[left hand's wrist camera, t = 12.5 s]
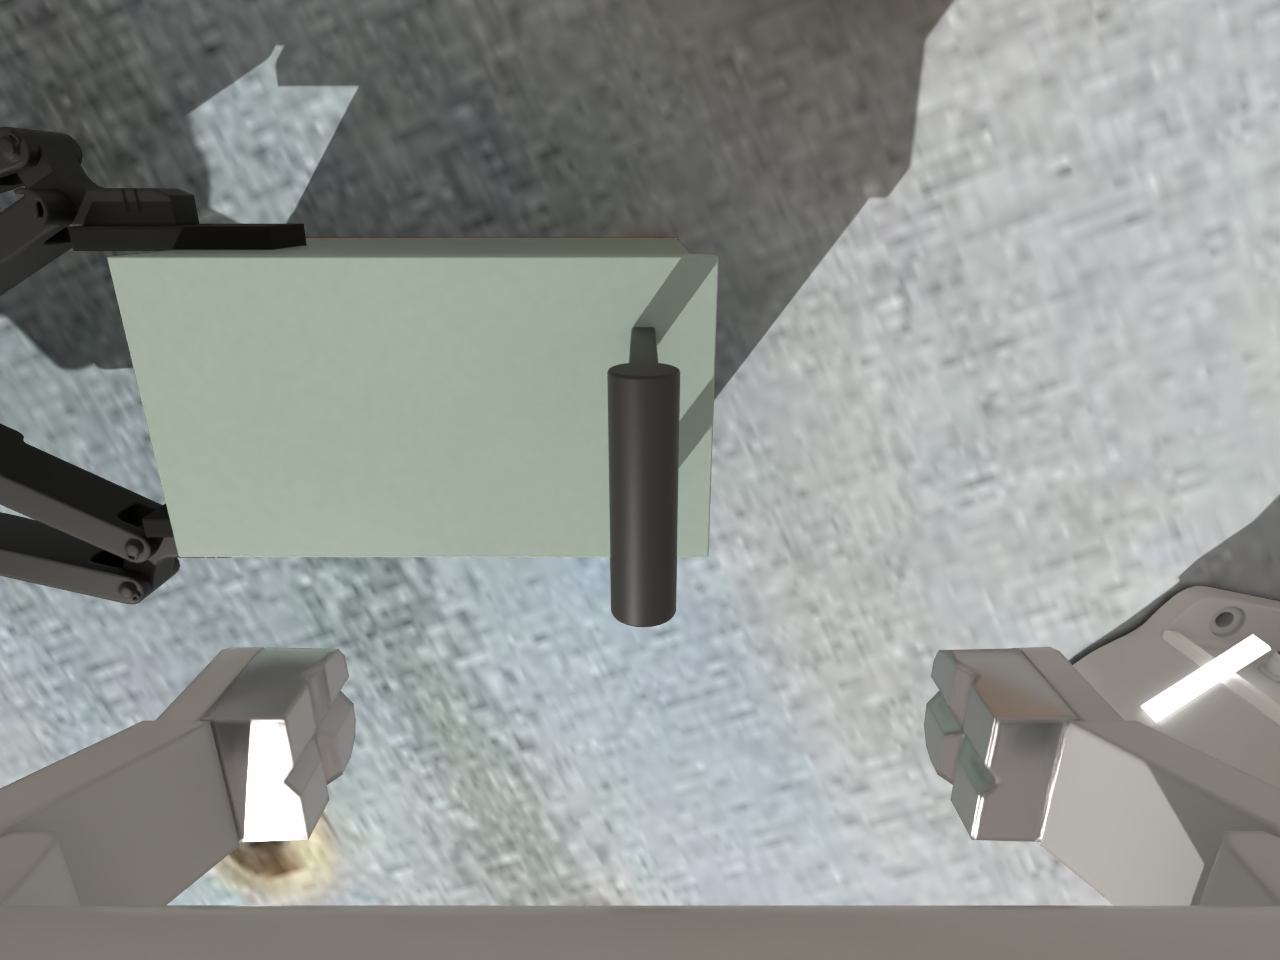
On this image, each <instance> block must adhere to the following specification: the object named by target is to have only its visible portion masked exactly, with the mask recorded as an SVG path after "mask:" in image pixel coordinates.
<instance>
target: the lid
mask: <svg viewBox="0 0 1280 960" xmlns="http://www.w3.org/2000/svg"><path fill="white" fill-rule="evenodd" d="M107 259H108V263H109V267H110V272H111V276H112V280H113V284H114V288H115V293H116V297H117V301H118V305H119V309H120V313H121V318H122V322H123V326H124V330H125V334H126V338H127V343H128V347H129V351H130V355H131V359H132V363H133V368H134V372H135V376H136V380H137V384H138V388H139V393H140V397H141V401H142V405H143V409H144V414H145V418H146V422H147V426H148V430H149V434H150V439H151V443H152V447H153V451H154V455H155V459H156V464H157V468H158V472H159V476H160V480H161V484H162V489H163V493H164V497H165V501H166V505H167V509H168V514H169V518H170V522H171V526H172V530H173V535H174V539H175V543H176V547H177V551H178V555H179V557H610V571H611V611H612V614H613V616H614V617H615V618H616V619H617V620H618V621H620V622H622V623H624V624H627V625H630V626H636V627H652V626H657V625H660V624H663V623H665V622H667V621H669V620H670V619H671V618H672V617H673V616H674V614H675V612H676V581H677V557H708V554H709V525H710V496H711V467H712V438H713V410H714V381H715V352H716V323H717V294H718V266H719V258H718V256H716V255H715V254H129V255H119V256H110V257H108V258H107Z"/></svg>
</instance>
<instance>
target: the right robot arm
mask: <svg viewBox="0 0 1280 960" xmlns="http://www.w3.org/2000/svg"><path fill="white" fill-rule="evenodd" d="M81 162H82V152H81V149H80V146H79V145H78V144H77V142H76V141H75V140H74V139H73V138H71V137H70V136H68V135H66V134H63V133H55V132H46V131H37V130H29V129H20V128H11V127H0V193H3V192H6V191H9V190H13V189H16V188H19V187H22V186H25V188H19V189H16V190H14V192H15V193H16V194H24V197H22V198H21V199H20V200H18V201H17V202H15V203H14V204H12V205H11V206H10V207H8V208H7V209H5V210H4V211H2V212H1V213H0V296H1V295H2V294H4V293H5V292H7V291H8V290H10V289H11V288H13V287H14V286H16V285H17V284H19V283H20V282H22V281H23V280H25V279H26V278H28V277H29V276H31V275H32V274H34V273H35V272H37V271H38V270H39V269H41V268H42V267H44V266H45V265H47V264H48V263H50V262H51V261H53V260H54V259H56V258H57V257H59V256H60V255H62V254H63V253H65V252H66V251H68V250H69V249H71V248H72V247H73V250H74V251H167V250H274V249H281V248H289V247H296V246H303V245H307V244H306V237H305V230H304V224H199V220H198V215H197V210H196V205H195V199H194V195H192V194H190V193H187V192H184V191H182V190H179V189H159V188H103V187H100V186H98V185H97V184H95V183H93V182H92V181H91V180H90V179H89V178H88V176H87V175H86V173H85V172H84V170H83V168H82V167H81V165H80V164H81ZM23 439H24V436H23V435H22V434H21V433H19V432H18V431H16V430H13V429H11V428H9V427H7V426H5V425H2V424H0V505H3V506H5V507H7V508H10V509H12V510H14V511H16V512H19V513H21V514H23V515H26V516H28V517H30V518H33V519H35V520H32V519H28V518H24V517H19V516H15V515H11V514H6V513H1V512H0V576H5V577H9V578H14V579H18V580H23V581H27V582H32V583H36V584H40V585H45V586H49V587H54V588H58V589H63V590H67V591H72V592H76V593H81V594H85V595H90V596H94V597H99V598H103V599H108V600H112V601H117V602H121V603H126V604H137V603H139V602H141V601H142V600H143V599H144V598H146V597H147V596H148V595H150V594H151V593H152V592H153V591H155V590H156V589H157V588H158V587H160V586H161V585H162V584H163V583H165V582H166V581H167V580H168V579H169V578H171V577H172V576H173V575H174V574H176V573H177V572H178V571H179V567H180V564H179V560H178V559H177V558H204V557H179V555H178V551H177V547H176V543H175V539H174V535H173V530H172V526H171V522H170V518H169V514H168V509H167V505H166V504H164V505H161V504H159V503H156V502H154V501H152V500H150V499H148V498H145V497H143V496H141V495H139V494H137V493H134V492H132V491H130V490H128V489H125V488H123V487H121V486H119V485H117V484H114V483H112V482H110V481H108V480H106V479H103V478H101V477H99V476H97V475H95V474H92V473H90V472H88V471H86V470H84V469H81V468H79V467H77V466H75V465H72V464H70V463H68V462H66V461H64V460H61V459H59V458H57V457H55V456H53V455H50V454H48V453H46V452H44V451H42V450H39V449H37V448H35V447H33V446H31V445H28V444H26V443H25V442H24V441H23ZM207 558H215V557H207ZM217 558H231V557H217Z"/></svg>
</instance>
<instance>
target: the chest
mask: <svg viewBox="0 0 1280 960" xmlns="http://www.w3.org/2000/svg"><path fill="white" fill-rule="evenodd" d="M306 244H307V245H303V246H296V247H289V248H281V249H274V250H167V251H158V252H149V253H139V254H690V253H689V252H688V251H687V250H686V249H685V248H684V246H683V245H682V244H681V243H680V242H679V239H678V238H306Z"/></svg>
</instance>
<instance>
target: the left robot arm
mask: <svg viewBox="0 0 1280 960" xmlns="http://www.w3.org/2000/svg"><path fill="white" fill-rule="evenodd" d="M1221 613H1222V614H1221ZM1220 614H1221V616H1219V617H1218V615H1220ZM1217 617H1218V618H1217ZM348 677H349V674H348V669H347V664H346V659H345V655H344V654H343V653H342V652H341V651H340V650H339V649H312V648H263V647H237V648H228V649H224V650H222V651H221V652H220V653H219V654H218V655H217V656H216V657H215V658H214V659H213V660H212V661H211V662H210V663H209V664H208V665H207V666H206V667H205V669H204V670H203V671H202V672H201V673H200V674H199V675H198V676H197V677H196V678H195V679H194V680H193V681H192V682H191V683H190V684H189V686H188V687H187V688H186V689H185V690H184V691H183V692H182V693H181V694H180V695H179V696H178V697H177V698H176V699H175V700H174V701H173V703H172V704H171V705H170V706H169V707H168V708H167V709H166V710H165V711H164V712H163V713H162V714H161V715H160V716H159V717H158V718H157V720H156V721H142V722H140V723H138V724H135V725H133V726H131V727H129V728H127V729H125V730H123V731H121V732H119V733H116V734H114V735H112V736H110V737H108V738H106V739H104V740H102V741H100V742H97V743H95V744H93V745H91V746H89V747H87V748H85V749H83V750H81V751H78V752H76V753H74V754H72V755H70V756H68V757H66V758H64V759H62V760H60V761H57V762H55V763H53V764H51V765H49V766H47V767H45V768H43V769H41V770H38V771H36V772H34V773H32V774H30V775H28V776H26V777H24V778H22V779H19V780H17V781H15V782H13V783H11V784H9V785H7V786H5V787H3V788H1V789H0V960H1280V601H1276V600H1271V599H1266V598H1261V597H1257V596H1252V595H1247V594H1242V593H1237V592H1232V591H1227V590H1222V589H1217V588H1212V587H1207V586H1193V587H1189V588H1186V589H1184V590H1182V591H1180V592H1179V593H1177V594H1176V595H1175V596H1173V597H1172V598H1171V599H1169V600H1168V601H1167V602H1166V603H1165V604H1164V605H1162V606H1161V607H1160V608H1159V609H1158V610H1157V611H1156V612H1155V613H1154V614H1153V615H1152V616H1151V617H1150V618H1149V619H1148V620H1147V621H1146V622H1145V623H1144V624H1143V625H1142V626H1140V627H1138V628H1137V629H1135V630H1134V631H1132V632H1130V633H1128V634H1126V635H1125V636H1122V637H1120V638H1118V639H1116V640H1114V641H1112V642H1110V643H1108V644H1106V645H1104V646H1102V647H1100V648H1098V649H1096V650H1095V651H1093V652H1091V653H1090V654H1088V655H1086V656H1085V657H1083V658H1082V659H1080V660H1079V661H1078V662H1076V663H1075V664H1073V665H1072V664H1071V663H1070V662H1069V661H1068V660H1067V659H1066V658H1065V657H1064V656H1063V655H1062V654H1061V652H1060V651H1058V650H1056V649H1053V648H1051V647H1031V648H1012V649H972V650H939V651H938V653H937V655H936V657H935V659H934V662H933V668H932V674H931V677H932V679H933V680H934V682H935V684H936V685H937V687H938V689H939V690H940V691H939V692H938V693H937V694H936V695H935V696H934V697H933V698H932V699H931V700H930V701H929V702H928V703H927V705H926V713H925V722H924V729H925V739H926V747H927V750H928V753H929V757H930V760H931V762H932V764H933V766H934V768H935V770H936V772H937V774H938V775H939V776H941V777H942V778H944V779H945V780H947V781H948V782H949V783H951V784H952V785H953V789H952V795H951V801H952V803H953V805H954V807H955V809H956V811H957V813H958V814H959V816H960V818H961V820H962V822H963V824H964V826H965V828H966V830H967V832H968V833H969V835H970V837H971V839H972V840H996V841H1032V842H1041V843H1040V845H1041V846H1042V847H1043V848H1045V849H1046V850H1047V851H1048V852H1050V853H1051V854H1052V855H1053V856H1054V857H1056V858H1057V859H1058V860H1059V861H1061V862H1062V863H1063V864H1064V865H1065V866H1067V867H1068V868H1069V869H1070V870H1072V871H1073V872H1074V873H1075V874H1076V875H1078V876H1079V877H1080V878H1081V879H1083V880H1084V881H1085V882H1086V883H1087V884H1089V885H1090V886H1091V887H1092V888H1094V889H1095V890H1096V891H1097V892H1099V893H1100V894H1101V895H1102V896H1103V897H1105V898H1106V899H1107V900H1108V901H1110V902H1111V903H1112V904H1113V905H1114V906H166V905H167V904H168V903H169V902H171V901H172V900H173V899H174V898H176V897H177V896H178V895H179V894H180V893H182V892H183V891H184V890H185V889H187V888H188V887H189V886H190V885H192V884H193V883H194V882H195V881H196V880H198V879H199V878H200V877H201V876H203V875H204V874H205V873H206V872H208V871H209V870H210V869H211V868H212V867H214V866H215V865H216V864H217V863H219V862H220V861H221V860H222V859H223V858H225V857H226V856H227V855H228V854H230V853H231V852H232V851H233V850H235V849H236V848H237V847H238V846H239V845H240V844H239V842H248V841H283V840H308V839H309V837H310V835H311V834H312V832H313V830H314V828H315V826H316V824H317V822H318V820H319V818H320V816H321V815H322V813H323V811H324V809H325V807H326V805H327V803H328V801H329V795H328V789H327V785H328V784H329V783H331V782H332V781H333V780H335V779H336V778H338V777H339V776H341V775H342V774H343V772H344V770H345V768H346V766H347V764H348V762H349V760H350V758H351V753H352V749H353V744H354V740H355V722H356V719H355V712H354V705H353V703H352V702H351V701H350V700H349V699H348V698H347V697H346V696H345V695H344V694H343V693H342V692H341V691H340V690H341V689H342V687H343V685H344V684H345V682H346V680H347V679H348Z"/></svg>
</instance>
